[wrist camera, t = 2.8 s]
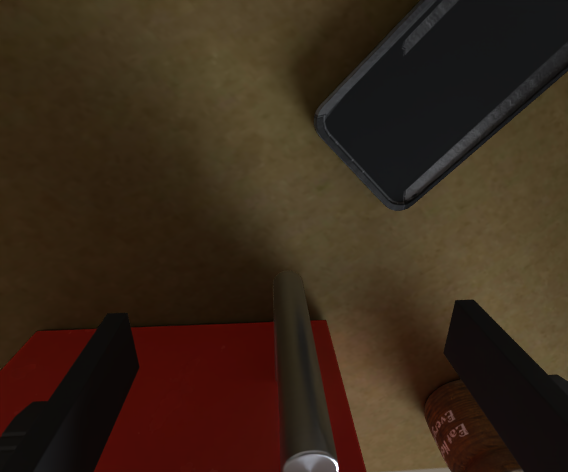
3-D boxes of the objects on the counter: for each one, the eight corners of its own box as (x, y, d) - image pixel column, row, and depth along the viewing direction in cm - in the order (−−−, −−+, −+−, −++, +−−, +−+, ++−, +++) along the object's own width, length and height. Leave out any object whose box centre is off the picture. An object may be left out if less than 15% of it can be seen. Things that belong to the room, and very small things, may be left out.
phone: (639, 8, 17) (397, 218, 21) (618, 13, 18) (391, 212, 22) (567, -152, 14) (305, 121, 18) (546, -136, 15) (303, 119, 19)
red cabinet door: (5, 247, 21) (-827, 779, 5) (330, 238, 22) (513, 662, 6) (41, 344, 24) (-406, 870, 8) (325, 332, 25) (437, 782, 9)
